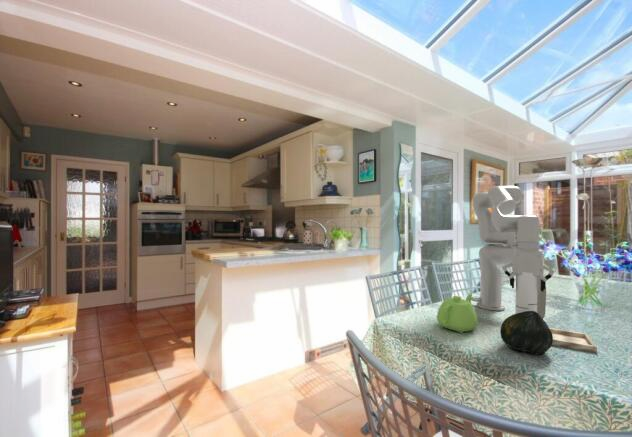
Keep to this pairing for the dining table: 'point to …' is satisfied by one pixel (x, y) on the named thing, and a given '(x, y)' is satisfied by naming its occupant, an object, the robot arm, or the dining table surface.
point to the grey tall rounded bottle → (541, 300)
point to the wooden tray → (573, 340)
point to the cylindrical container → (526, 292)
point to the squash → (527, 332)
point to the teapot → (457, 314)
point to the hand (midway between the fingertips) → (527, 289)
